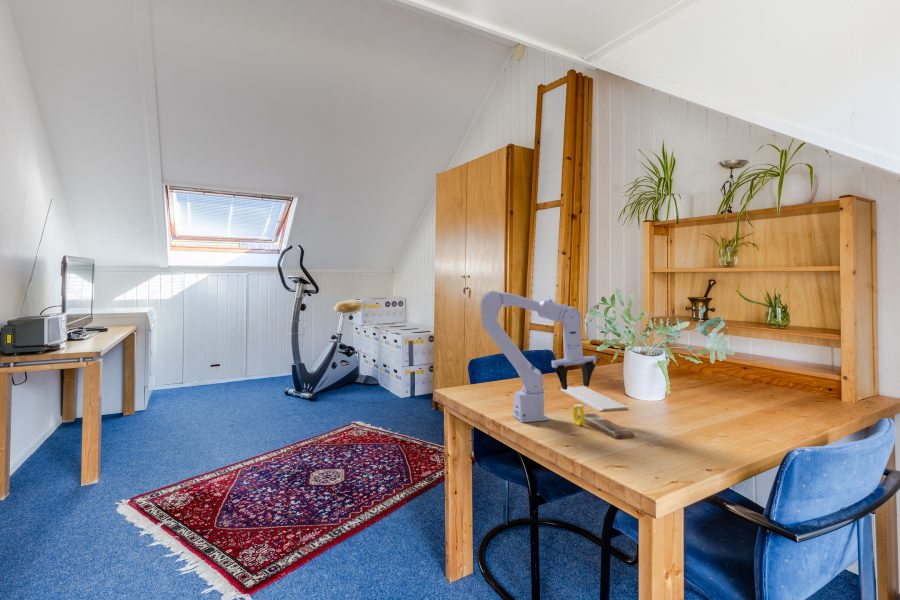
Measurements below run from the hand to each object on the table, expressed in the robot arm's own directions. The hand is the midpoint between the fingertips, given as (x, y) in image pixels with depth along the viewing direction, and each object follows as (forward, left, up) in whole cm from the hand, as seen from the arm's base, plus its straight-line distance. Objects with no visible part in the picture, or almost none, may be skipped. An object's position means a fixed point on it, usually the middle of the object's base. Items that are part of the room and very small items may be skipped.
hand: (575, 387), depth 144 cm
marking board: (+5, -9, -10) cm, 14 cm away
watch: (-1, -4, -11) cm, 11 cm away
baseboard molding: (+18, +21, -11) cm, 30 cm away
